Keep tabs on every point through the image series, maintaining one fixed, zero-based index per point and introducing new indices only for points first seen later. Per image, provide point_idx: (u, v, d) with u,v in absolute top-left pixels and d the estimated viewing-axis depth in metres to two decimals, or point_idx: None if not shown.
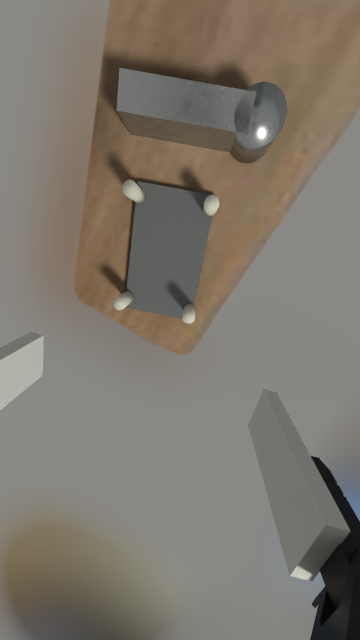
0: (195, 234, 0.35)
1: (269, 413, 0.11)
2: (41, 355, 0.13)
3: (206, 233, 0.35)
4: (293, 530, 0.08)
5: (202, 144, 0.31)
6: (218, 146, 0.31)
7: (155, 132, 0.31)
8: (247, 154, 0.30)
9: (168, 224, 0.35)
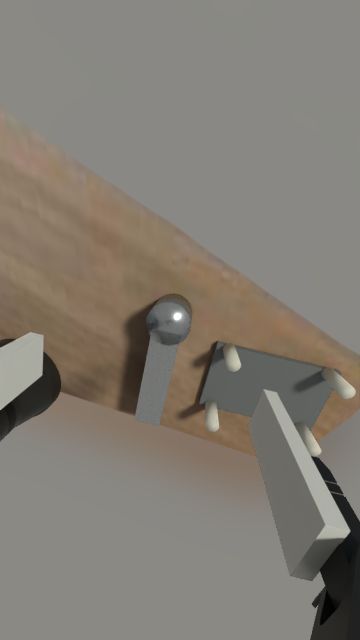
0: (249, 362, 0.36)
1: (269, 412, 0.11)
2: (41, 355, 0.13)
3: (250, 353, 0.35)
4: (293, 530, 0.08)
5: None
6: None
7: None
8: None
9: (237, 384, 0.37)
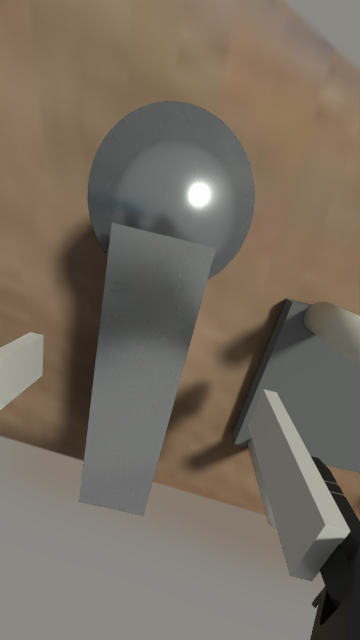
0: None
1: (269, 413, 0.11)
2: (41, 355, 0.13)
3: None
4: (293, 530, 0.08)
5: None
6: None
7: None
8: None
9: (326, 402, 0.16)
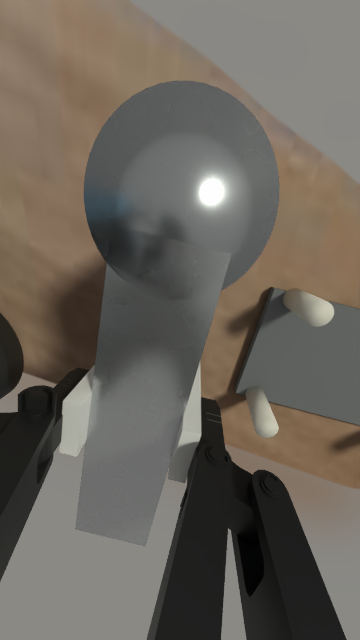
0: (326, 322, 0.21)
1: None
2: None
3: None
4: (174, 446, 0.10)
5: None
6: None
7: None
8: None
9: (301, 361, 0.23)
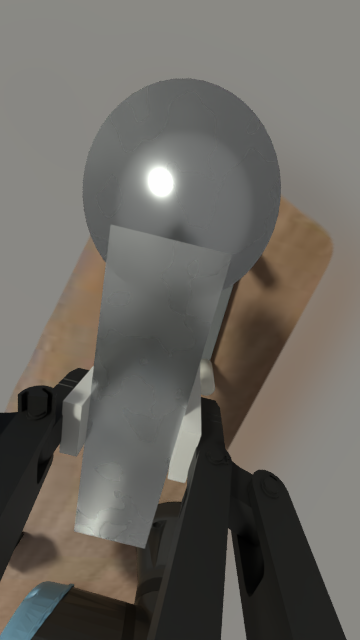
0: None
1: None
2: None
3: None
4: None
5: None
6: None
7: None
8: None
9: None
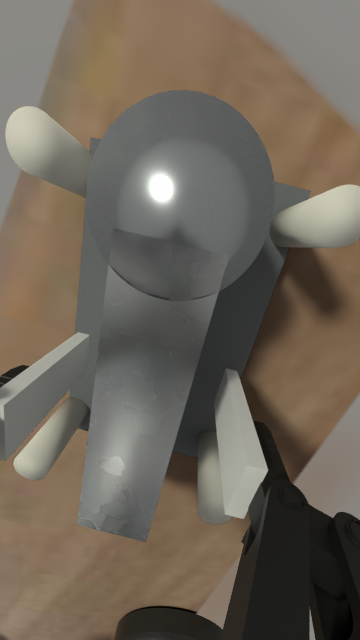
0: None
1: (226, 387, 0.13)
2: (86, 353, 0.14)
3: None
4: (230, 477, 0.09)
5: None
6: None
7: None
8: None
9: None
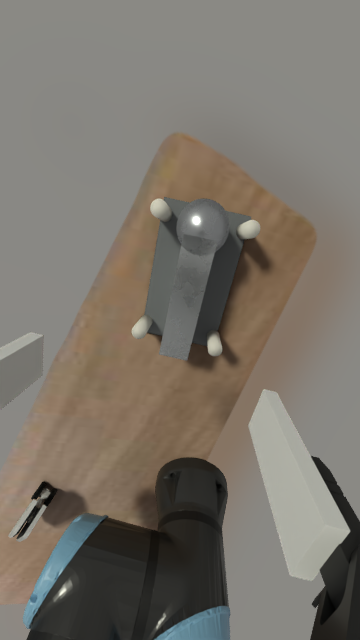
0: (159, 300, 0.35)
1: (269, 412, 0.11)
2: (41, 355, 0.13)
3: (148, 300, 0.35)
4: (293, 530, 0.08)
5: None
6: None
7: None
8: None
9: None
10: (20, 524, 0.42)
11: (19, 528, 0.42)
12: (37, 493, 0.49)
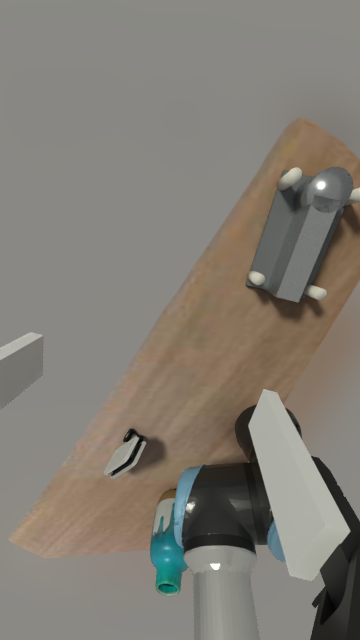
0: (266, 257, 0.42)
1: (269, 413, 0.11)
2: (41, 355, 0.13)
3: (257, 257, 0.42)
4: (293, 530, 0.08)
5: None
6: None
7: None
8: None
9: None
10: (129, 454, 0.49)
11: (128, 457, 0.49)
12: (129, 436, 0.56)
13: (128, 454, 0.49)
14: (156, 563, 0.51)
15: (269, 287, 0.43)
